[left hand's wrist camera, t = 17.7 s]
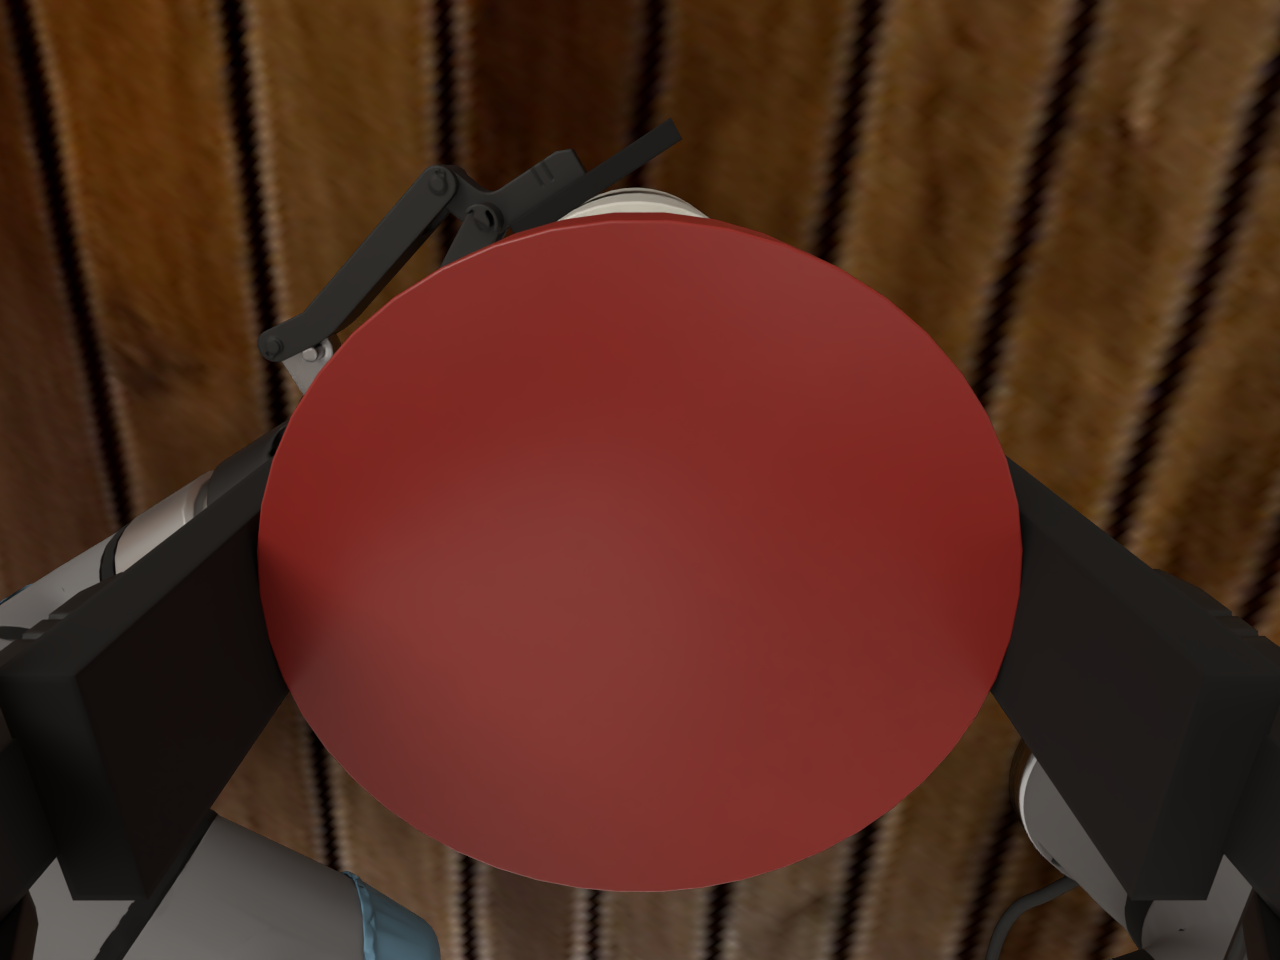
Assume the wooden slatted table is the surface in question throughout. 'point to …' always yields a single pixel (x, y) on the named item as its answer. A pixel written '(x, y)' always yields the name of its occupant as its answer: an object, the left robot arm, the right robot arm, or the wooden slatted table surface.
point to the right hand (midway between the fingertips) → (740, 254)
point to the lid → (639, 554)
